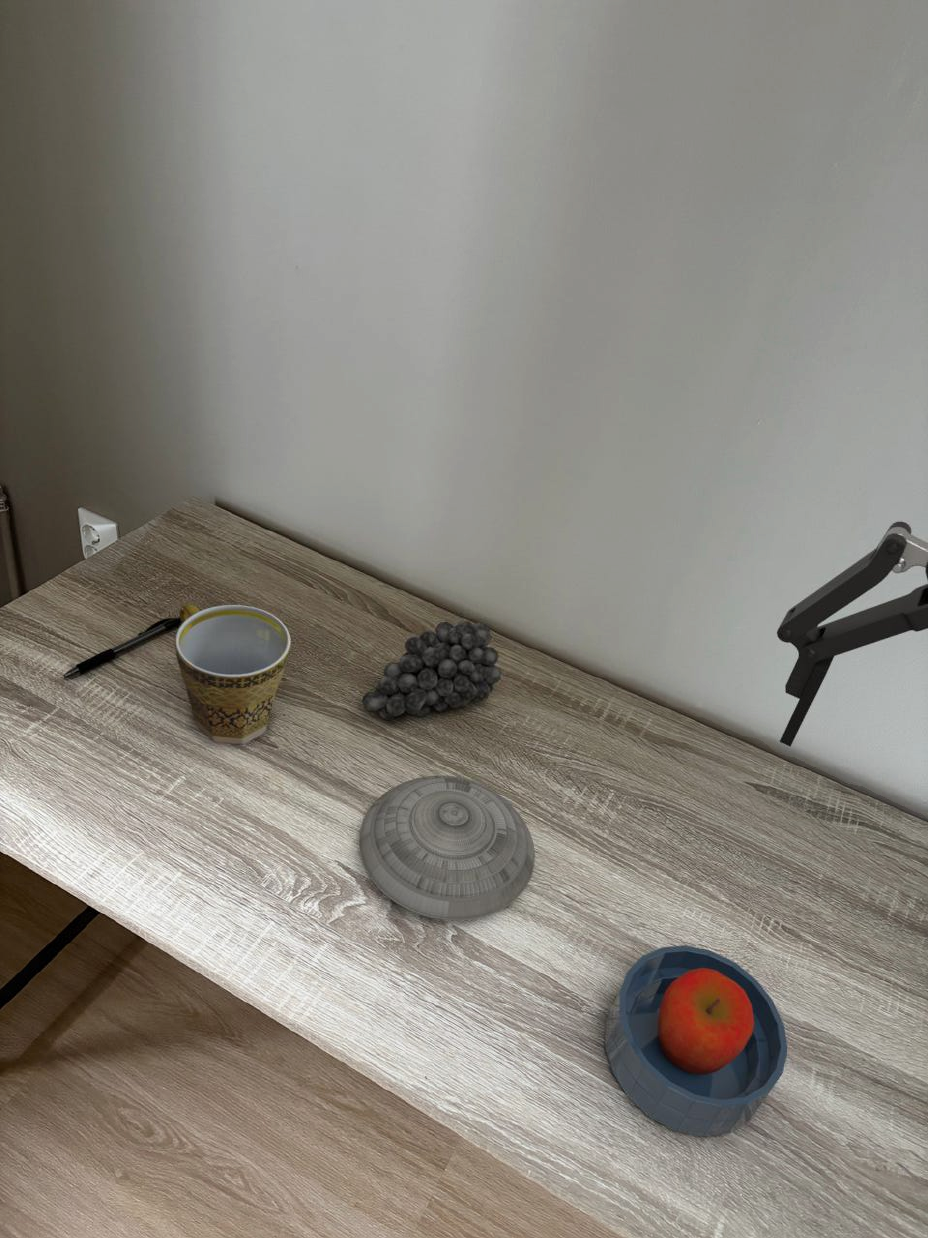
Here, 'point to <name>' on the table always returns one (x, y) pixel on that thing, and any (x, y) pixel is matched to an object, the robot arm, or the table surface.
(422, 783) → the flying saucer
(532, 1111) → the table surface
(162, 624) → the pen
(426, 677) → the fruit
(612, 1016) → the bowl
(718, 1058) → the apple
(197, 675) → the ceramic cup
